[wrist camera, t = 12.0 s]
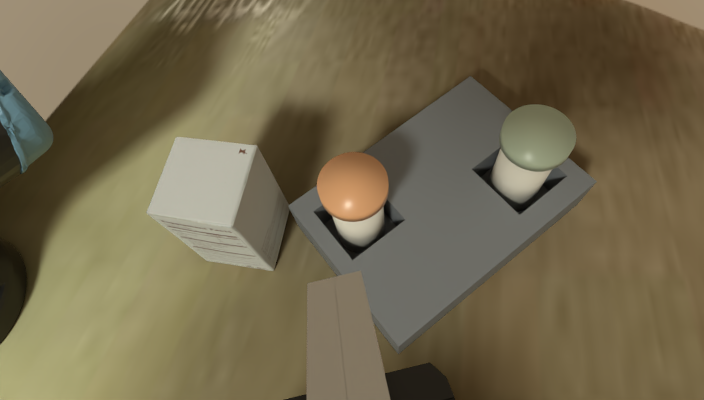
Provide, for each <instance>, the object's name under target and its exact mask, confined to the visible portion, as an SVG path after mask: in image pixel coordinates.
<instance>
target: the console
mask: <svg viewBox="0 0 704 400" xmlns="http://www.w3.org/2000/svg"><path fill="white" fill-rule="evenodd" d="M511 112H512V110H511V109H510V108H508V107H507V106H506V105H505V104H504V103H502V102H501V101H500V100H499V99H498V98H496V97H495V96H494V95H493V94H492V93H490V92H489V91H488V90H487V89H486V88H484V87H483V86H482V85H481V84H480V83H478V82H477V81H476V80H475V79H474V78H472V77H471V76H470V77H468V78H467V79H466V80H464V81H463V82H461V83H460V84H459V85H457V86H456V87H454V88H453V89H452V90H450V91H449V92H447V93H446V94H445V95H443V96H442V97H440V98H439V99H437V100H436V101H435V102H433V103H432V104H430V105H429V106H428V107H426V108H425V109H423V110H422V111H421V112H419V113H418V114H416V115H415V116H414V117H412V118H411V119H409V120H408V121H407V122H405V123H404V124H402V125H401V126H400V127H398V128H397V129H395V130H394V131H392V132H391V133H390V134H388V135H387V136H385V137H384V138H383V139H381V140H380V141H378V142H377V143H376V144H374V145H373V146H371V147H370V148H369V149H367V150H366V151H364V152H363V153H365V154H368V155H370V156H372V157H374V158H375V159H377V160H378V161H379V162H380V163H381V164H382V165H383V167H384V168H385V170H386V172H387V175H388V182H389V193H388V198H387V201H386V203H385V205H384V221H385V235H384V237H382V238H381V239H380V240H378V241H377V242H376V243H374V244H373V245H372V246H371V247H369V248H368V249H367V250H365V251H364V252H363V253H358V252H353V251H351V250H349V249H347V248H346V247H345V246H344V245H343V244H342V242H341V241H340V238H339V235H338V232H337V229H336V226H335V223H334V220H333V217H332V215H331V214H329V213H328V212H327V211H326V210H325V208H324V207H323V205H322V203H321V200H320V197H319V194H318V190H317V186H315V187H314V188H312V189H311V190H309V191H308V192H307V193H305V194H304V195H302V196H301V197H300V198H298V199H297V200H295V201H294V202H293V203H291V204H290V205H288V207H289V209H290V211H291V213H292V215H293V217H294V218H295V220H296V222H297V224H298V226H299V227H300V229H301V230H302V231H303V232H304V234H305V235H306V236H307V238H308V239H309V240H310V241H311V243H312V244H313V245H314V247H315V248H316V249H317V250H318V252H319V253H320V254H321V256H322V257H323V258H324V259H325V261H326V262H327V263H328V265H329V266H330V267H331V268H332V270H333V271H334V272H335V273H336V275H337V276H340V275H345V274H349V273H353V272H357V271H361V274H362V278H363V282H364V286H365V291H366V295H367V299H368V303H369V307H370V311H371V316H372V320H373V322H374V324H375V325H376V326H377V327H378V329H379V330H380V331H381V333H382V334H383V335H384V336H385V338H386V339H387V340H388V341H389V343H390V344H391V345H392V347H393V348H394V349H395V350H396V352H397V353H398V354H399V353H400V352H402V351H403V350H404V349H405V348H406V347H408V346H409V345H410V344H411V343H412V342H413V341H415V340H416V339H417V338H418V337H419V336H421V335H422V334H423V333H424V332H425V331H427V330H428V329H429V328H430V327H431V326H433V325H434V324H435V323H436V322H437V321H439V320H440V319H441V318H442V317H443V316H445V315H446V314H447V313H448V312H449V311H451V310H452V309H453V308H454V307H455V306H456V305H458V304H459V303H460V302H461V301H462V300H464V299H465V298H466V297H467V296H468V295H470V294H471V293H472V292H473V291H474V290H476V289H477V288H478V287H479V286H480V285H482V284H483V283H484V282H485V281H486V280H488V279H489V278H490V277H491V276H492V275H494V274H495V273H496V272H497V271H498V270H499V269H501V268H502V267H503V266H504V265H505V264H507V263H508V262H509V261H510V260H511V259H513V258H514V257H515V256H516V255H517V254H519V253H520V252H521V251H522V250H523V249H525V248H526V247H527V246H528V245H529V244H531V243H532V242H533V241H534V240H535V239H537V238H538V237H539V236H540V235H541V234H542V233H544V232H545V231H546V230H547V229H548V228H550V227H551V226H552V225H553V224H554V223H556V222H557V221H558V220H559V219H560V218H562V217H563V216H564V215H565V214H566V213H568V212H569V211H570V210H571V209H572V208H574V207H575V206H576V205H577V204H578V203H579V202H580V201H581V199H582V198H583V197H584V196H585V195H586V194H587V192H588V191H589V190H590V189H591V188H592V187H593V185H594V184H595V183H596V182H597V181H596V180H594V179H593V178H592V177H591V176H590V175H588V174H587V173H586V172H585V171H584V170H582V169H581V168H580V167H579V166H578V165H576V164H575V163H574V162H573V161H572V160H570V159H569V158H567V159H566V160H565V162H564V163H563V164H561V165H560V166H558V167H557V168H555V169H552V170H551V172H550V174H549V175H548V177H547V178H546V180H545V182H544V183H543V185H542V186H541V188H540V189H539V191H538V193H537V194H536V196H535V197H534V199H533V200H532V202H531V203H530V205H529V206H528V207H526V208H525V209H523V210H520V211H515V210H514V209H513V208H512V207H511V206H510V205H509V204H508V203H507V202H506V201H505V200H504V199H503V198H502V197H501V196H499V195H498V194H497V193H496V192H495V191H494V190H493V189H492V188H491V187H490V186H489V185H488V184H487V182H488V179H489V177H490V174H491V172H492V169H493V166H494V164H495V161H496V159H497V156H498V154H499V151H500V149H501V147H500V143H499V135H500V131H501V129H502V126H503V123H504V121H505V119H506V117H507V116H508V115H509V114H510V113H511Z"/></svg>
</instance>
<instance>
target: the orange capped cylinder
mask: <svg viewBox="0 0 704 400" xmlns="http://www.w3.org/2000/svg"><path fill="white" fill-rule="evenodd" d="M317 190H318V194H319V197H320V200H321V203H322V205H323V207H324V208H325V210H326V211H327V212H328V213H329V214H331V215H332V217H333V220H334V223H335V226H336V229H337V232H338V235H339V238H340V241H341V242H342V244H343V245H344V246H345V247H346V248H347V249H349V250H351V251H353V252H358V253H363V252H364V251H365V250H367V249H368V248H369V247H371V246H372V245H373V244H374V243H376V242H377V241H378V240H380V239H381V238H382V237H384V235H385V221H384V205H385V203H386V201H387V198H388V193H389V182H388V175H387V172H386V170H385V168H384V167H383V165H382V164H381V163H380V162H379V161H378V160H377V159H375V158H374V157H372V156H370V155H368V154H365V153H360V152H348V153H343V154H341V155H338V156H336V157H334V158H333V159H331V160H330V161H329V162H327V163H326V164H325V166H324V167H323V168H322V170H321V172H320V174H319V176H318V180H317Z"/></svg>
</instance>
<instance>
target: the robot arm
mask: <svg viewBox="0 0 704 400" xmlns="http://www.w3.org/2000/svg"><path fill="white" fill-rule="evenodd" d="M52 143H53V133H52V130H51V128H50V127H49V125H48V124H47V123H46V122H45V121H44V120H43V118H42V117H41V116H40V115H39V114H38V113H37V112H36V110H35V109H34V108H33V107H32V106H31V105H30V103H29V102H28V101H27V100H26V99H25V98H24V97H23V95H21V93H20V92H19V91H18V90H17V89H16V87H15V86H14V85H13V84H12V83H11V82H10V81H9V79H8V78H7V77H6V76H5V75H4V74H3V73H2V71H1V70H0V188H1V187H2V186H3V185H5V184H6V183H8V182H9V181H11V180H12V179H13V178H15V177H16V176H18V175H19V174H22V173H24V172H25V171H26V170H27V169H28V166H29V165H30V164H31V163H33V162H34V161H35V160H36V159H38V158H39V157H40V156H41V155H42V154H44V153H45V152H46V151H47V150H48V149H49V148H50V147H51V145H52ZM25 292H26V270H25V265H24V262H23V260H22V258H21V256H20V254H19V252H18V251H17V250H16V249H15V248H14V247H13V246H12V245H11V244H10V243H8V242H7V241H5V240H3V239H1V238H0V343H1V341H2V340H3V339H4V338H5V336H6V335H7V334H8V332H9V331H10V329H11V327H12V326H13V324H14V322H15V320H16V318H17V316H18V314H19V312H20V310H21V307H22V304H23V301H24V297H25ZM285 400H455V398H454V395H453V392H452V390H451V388H450V385H449V383H448V380H447V378H446V377H445V376H444V375H443V374H442V373H441V372H440V371H439V370H438V369H436V368H435V367H434V366H433V365H432V364H431V363H426V364H422V365H418V366H414V367H410V368H406V369H402V370H398V371H394V372H389V373H385V371H384V366H383V362H382V358H381V353H380V349H379V345H378V341H377V337H376V332H375V328H374V324H373V320H372V316H371V311H370V307H369V303H368V299H367V295H366V291H365V286H364V282H363V278H362V274H361V271H357V272H353V273H349V274H345V275H340V276H336V277H332V278H328V279H324V280H320V281H315V282H311V283H307V394H306V395H302V396H297V397H293V398H289V399H285Z"/></svg>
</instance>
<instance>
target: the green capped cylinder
mask: <svg viewBox="0 0 704 400" xmlns="http://www.w3.org/2000/svg"><path fill="white" fill-rule="evenodd" d="M499 143H500V147H501V149H500V151H499V154H498V156H497V159H496V161H495V164H494V166H493V169H492V172H491V174H490V177H489V179H488V182H487V184H488V185H489V186H490V187H491V188H492V189H493V190H494V191H495V192H496V193H497V194H498V195H499V196H501V197H502V198H503V199H504V200H505V201H506V202H507V203H508V204H509V205H510V206H511V207H512V208H513V209H514V210H515V211H520V210H523V209H525V208H526V207H528V206H529V205H530V203H531V202H532V200H533V199H534V197H535V196H536V194H537V193H538V191H539V189H540V188H541V186H542V185H543V183H544V182H545V180H546V178H547V177H548V175H549V174H550V172H551V170H552V169H555V168H557V167H558V166H560V165H561V164H563V163H564V162H565V160H566V159H567V158H568V156H569V155H570V153H571V152H572V150H573V148H574V146H575V143H576V131H575V128H574V126H573V124H572V123H571V121H570V120H569V119H568V118H567V116H565V115H564V114H563V113H562V112H560V111H558V110H557V109H555V108H552V107H549V106H546V105H540V104H531V105H525V106H522V107H519V108H517V109H515V110H514V111H512V112H511V113H510V114H509V115H508V116H507V117H506V119H505V121H504V123H503V126H502V129H501V131H500V135H499Z"/></svg>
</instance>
